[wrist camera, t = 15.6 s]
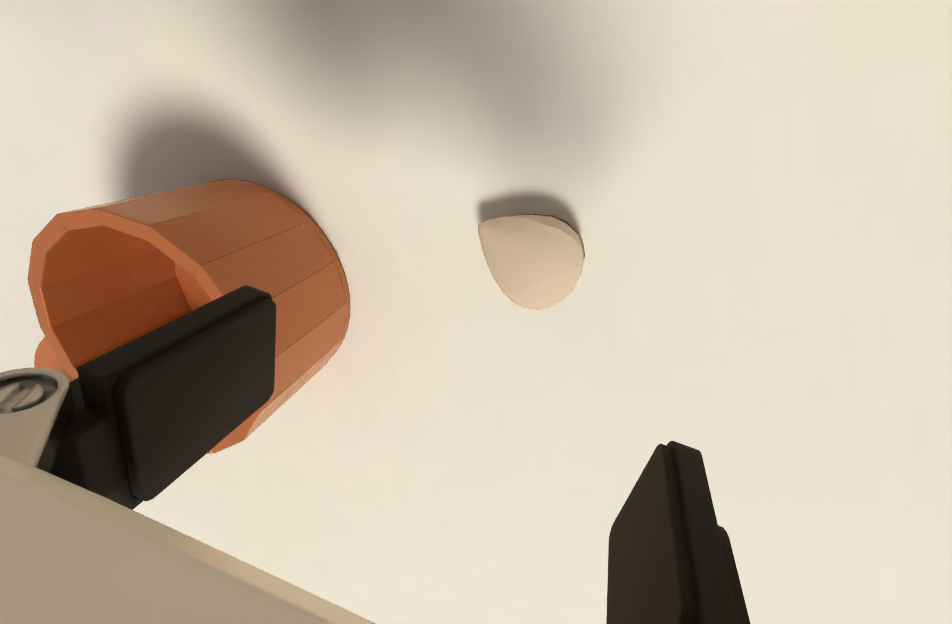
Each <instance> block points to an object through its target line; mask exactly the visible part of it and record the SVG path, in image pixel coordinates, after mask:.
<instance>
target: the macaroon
mask: <svg viewBox="0 0 952 624" xmlns="http://www.w3.org/2000/svg"><path fill="white" fill-rule="evenodd" d="M478 233H479V237H480V242H481V246H482V250H483V253H484V256H485V259H486V262H487V265H488V267H489V269H490V271H491V273H492V276H493V278H494V280H495V281H496V282H497V284H498V285H499V287H500V288H501V290H502V291H503V293H505V294H506V295H507V296H508V298H509V299H510V300H511V301H513V302H515V303H516V304H518V305H520V306H521V307H523V308H528V309H537V310H538V309H542V308H546V307H550V306H552V305H554V304H556V303H558V302H560V301H562V300H563V299H564V298H565V297H566V296H567V295H568V294H569V293H570V292H571V291H572V290H573V289H574V287H575V285H576V283H577V281H578V279H579V278H580V276H581V272H582V267H583V262H584V257H585V253H584V246H583V242H582V239H581V236H580V234H579V232H578V231H577V230H576V229H575V228H574V227H573V226H571V225H570V224H569V223H568V222H566V221H564V220H562V219H559V218H557V217H555V216H551V215H536V214H532V215H513V216H506V217H500V218H495V219H491V220H487V221H483V222H482V223H480V224H479V225H478Z"/></svg>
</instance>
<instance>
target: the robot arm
mask: <svg viewBox="0 0 952 624" xmlns="http://www.w3.org/2000/svg"><path fill="white" fill-rule="evenodd" d="M275 346H276V303H275V302H274V301H272V296H271V294H269V293H268V292H265V291H262V290H260V289H257V288H254V287H251V286H248V285H245V286H242V287H240V288H238V289H236V290H234V291H231V292H229V293H227V294H225V295H223V296H221V297H219V298H217V299H215V300H213V301H211V302H209V303H207V304H205V305H203V306H201V307H199V308H197V309H195V310H193V311H191V312H189V313H187V314H185V315H182V316H180V317H178V318H176V319H174V320H172V321H170V322H168V323H166V324H164V325H162V326H160V327H158V328H156V329H154V330H152V331H150V332H148V333H146V334H144V335H142V336H140V337H138V338H136V339H133V340H131V341H129V342H127V343H125V344H123V345H121V346H119V347H117V348H115V349H113V350H111V351H109V352H107V353H105V354H103V355H101V356H99V357H97V358H95V359H93V360H91V361H89V362H87V363H84V364H82V365H80V366H78V367H76V368H77V372H78V377H79V378H77V379H75V380H73V381H71V382H69V380H68V379H67V377H66V376H65V375H64V374H62V373H60V372H59V371H57V370H52V369H47V368H23V369H14V370H10V371H6V372H2V373H0V624H375V623H373V622H371V621H369V620H367V619H365V618H363V617H361V616H359V615H356V614H354V613H352V612H350V611H348V610H346V609H344V608H342V607H339V606H337V605H335V604H333V603H331V602H329V601H327V600H325V599H322V598H320V597H318V596H316V595H314V594H312V593H310V592H307V591H305V590H303V589H301V588H299V587H297V586H295V585H293V584H290V583H288V582H286V581H284V580H282V579H280V578H278V577H276V576H273V575H271V574H269V573H267V572H265V571H263V570H261V569H258V568H256V567H254V566H252V565H250V564H248V563H246V562H243V561H241V560H239V559H237V558H235V557H233V556H231V555H228V554H226V553H224V552H222V551H220V550H218V549H216V548H213V547H211V546H209V545H207V544H205V543H203V542H200V541H198V540H196V539H194V538H192V537H190V536H187V535H185V534H183V533H181V532H179V531H177V530H174V529H172V528H170V527H168V526H166V525H164V524H161V523H159V522H157V521H155V520H153V519H151V518H148V517H146V516H144V515H142V514H140V513H138V512H135V511H133V509H134V508H135V507H136V506H138V505H139V504H140V503H141V502H142V501H149V500H151V499H153V498H154V497H156V496H157V495H158V494H159V493H161V492H162V491H163V490H164V489H165V488H166V487H168V486H169V485H170V484H171V483H172V482H173V481H175V480H176V479H177V478H178V477H179V476H181V475H182V474H183V473H184V472H185V471H186V470H188V469H189V468H190V467H191V466H192V465H193V464H195V463H196V462H197V461H198V460H199V459H201V458H202V457H203V456H204V455H205V454H206V453H208V452H209V451H210V450H211V449H212V448H213V447H215V446H216V445H217V444H218V443H219V442H221V441H222V440H223V439H224V438H225V437H226V436H228V435H229V434H230V433H231V432H232V431H233V430H235V429H236V428H237V427H238V426H239V425H240V424H242V423H243V422H244V421H245V420H246V419H248V418H249V417H250V416H251V415H252V414H253V413H255V412H256V411H257V410H258V409H259V408H260V407H262V406H263V405H264V404H265V403H266V402H267V401H268V400H269V399H270V398H271V396H272V394H273V391H274V384H275ZM105 497H106V498H105ZM607 624H750V621H749V617H748V613H747V608H746V604H745V600H744V596H743V592H742V588H741V584H740V580H739V576H738V572H737V568H736V564H735V560H734V556H733V552H732V548H731V544H730V540H729V537H728V534H727V532H726V531H725V529H724V528H723V527H721V526H718V525H717V520H716V516H715V511H714V507H713V503H712V498H711V494H710V489H709V485H708V481H707V476H706V472H705V467H704V463H703V459H702V455H701V452H700V451H699V450H696V449H694V448H691V447H688V446H686V445H683V444H680V443H677V442H675V441H670V442H669V443H668V444H667V446H666V445H663V444H659V445H658V446H657V447H656V449H655V451H654V452H653V454H652V456H651V458H650V460H649V461H648V463H647V465H646V467H645V468H644V470H643V472H642V474H641V475H640V477H639V479H638V481H637V483H636V484H635V486H634V488H633V490H632V491H631V493H630V495H629V497H628V498H627V500H626V502H625V504H624V506H623V507H622V509H621V511H620V513H619V514H618V516H617V518H616V520H615V521H614V523H613V525H612V528H611V532H610V536H609V555H608V591H607Z"/></svg>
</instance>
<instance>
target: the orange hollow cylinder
mask: <svg viewBox="0 0 952 624" xmlns="http://www.w3.org/2000/svg"><path fill="white" fill-rule="evenodd" d="M28 280H29V281H28V284H29V288H30V291H31V295H32V299H33V303H34V307H35V310H36V314H37V318H38V322H39V324H40V327H41V329H42V331H43V332H44V334H45V336H46V338H47V339H48V341H49V343H50V345H51V346H52V348H53V350H54V352H55V353H56V355H57V357H58V359H59V360H60V362H61V364H62V366H63V367H64V369H65V370H66V371H67V372H68V373H69V374H70V376H71V377H72V378H73V379H74V380H75V379H77V378H79V377H78V372H77V368H76V367H78V366H80V365H82V364H84V363H87V362H89V361H91V360H93V359H95V358H97V357H99V356H101V355H103V354H105V353H107V352H109V351H111V350H113V349H115V348H117V347H119V346H121V345H123V344H125V343H127V342H129V341H131V340H133V339H136V338H138V337H140V336H142V335H144V334H146V333H148V332H150V331H152V330H154V329H156V328H158V327H160V326H162V325H164V324H166V323H168V322H170V321H172V320H174V319H176V318H178V317H180V316H182V315H185V314H187V313H189V312H191V311H193V310H195V309H197V308H199V307H201V306H203V305H205V304H207V303H209V302H211V301H213V300H215V299H217V298H219V297H221V296H223V295H225V294H227V293H229V292H231V291H234V290H236V289H238V288H240V287H242V286H245V285H248V286H251V287H254V288H257V289H260V290H262V291H265V292H268V293H269V294H271V296H272V301H274V302H275V303H276V346H275V384H274V391H273V394H272V396H271V398H270V399H269V400H268V401H267V402H266V403H265V404H264V405H263V406H262V407H260V408H259V409H258V410H257V411H256V412H255V413H253V414H252V415H251V416H250V417H249V418H248V419H246V420H245V421H244V422H243V423H242V424H240V425H239V426H238V427H237V428H236V429H235V430H233V431H232V432H231V433H230V434H229V435H228V436H226V437H225V438H224V439H223V440H222V441H221V442H219V443H218V444H217V445H216V446H215V447H213V448H212V449H211V450H210V451H209V452H208V453H209V454H212V453H216V452H219V451H221V450H223V449H225V448H228V447H230V446H232V445H235V444H237V443H239V442H242V441H243V440H245V439H246V438H247V437H248V436H249V435H250V434H251V433H252V432H253V431H254V430H256V429H257V428H258V427H259V426H260V425H261V424H262V423H263V422H264V421H265V420H266V419H267V418H268V417H270V416H271V415H272V414H273V413H274V412H275V411H276V410H277V409H278V408H279V407H280V406H281V405H283V404H284V403H285V402H286V401H287V400H288V399H289V398H290V397H291V396H292V395H293V394H294V393H296V392H297V391H298V390H299V389H300V388H301V387H302V386H303V385H304V384H305V383H306V382H307V381H309V380H310V379H311V378H312V377H313V376H314V375H315V374H316V373H317V372H318V371H319V370H320V369H322V368H323V367H324V366H325V365H326V364H327V362H328V361H329V359H330V358H331V357H332V356H333V355H334V353H335V352H336V351H337V350H338V348H339V347H340V345H341V343H342V341H343V340H344V337H345V334H346V331H347V329H348V323H349V318H350V298H349V290H348V285H347V281H346V277H345V274H344V271H343V268H342V265H341V263H340V261H339V259H338V257H337V255H336V252H335V251H334V249H333V247H332V246H331V244H330V242H329V241H328V239H327V238H326V236H325V235H324V234H323V232H322V231H321V230H320V228H319V227H318V226H317V225H316V224H315V223H314V221H313V220H312V219H311V218H310V217H309V216H308V215H307V214H306V213H305V212H304V211H302V210H301V209H300V208H299V207H298V206H297V205H295V204H294V203H293V202H291V201H290V200H288V199H287V198H285V197H284V196H282V195H280V194H279V193H277V192H275V191H273V190H271V189H269V188H266V187H264V186H261V185H259V184H255V183H251V182H247V181H241V180H230V179H229V180H220V181H215V182H210V183H203V184H197V185H192V186H187V187H183V188H178V189H173V190H168V191H163V192H159V193H154V194H149V195H144V196H140V197H135V198H130V199H125V200H120V201H116V202H111V203H106V204H101V205H97V206H92V207H87V208H82V209H78V210H73V211H68V212H63V213H59V214H57V215H55V217H54V218H53V219H52V220H51V221H50V222H49V223H48V224H47V225H46V226H45V228H44V229H43V230H42V231H41V232H40V233H39V234H38V235H37V236H36V237H35V238H34V240H33V242H32V249H31V257H30V265H29V273H28Z"/></svg>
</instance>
